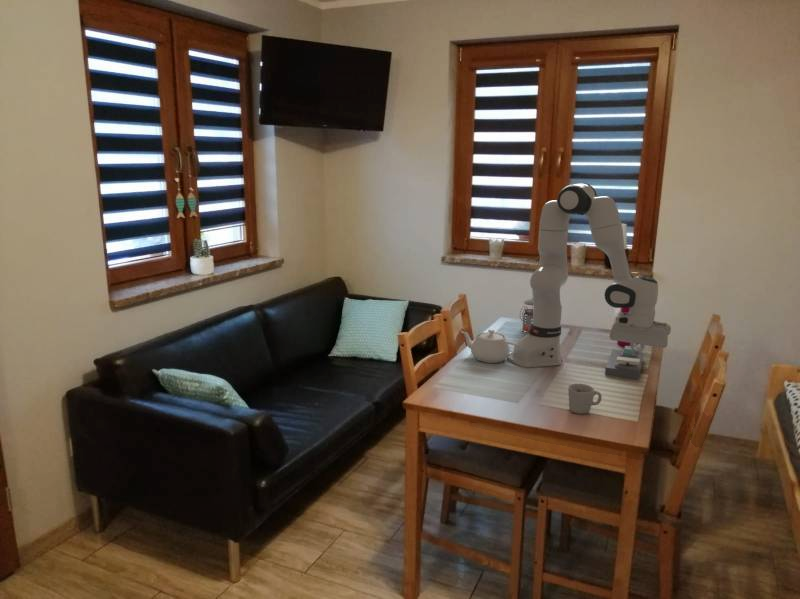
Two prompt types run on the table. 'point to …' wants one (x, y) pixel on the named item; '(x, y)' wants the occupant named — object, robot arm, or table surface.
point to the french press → (527, 312)
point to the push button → (628, 350)
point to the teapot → (490, 347)
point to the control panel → (623, 366)
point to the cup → (582, 398)
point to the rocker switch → (628, 360)
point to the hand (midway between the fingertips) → (635, 354)
